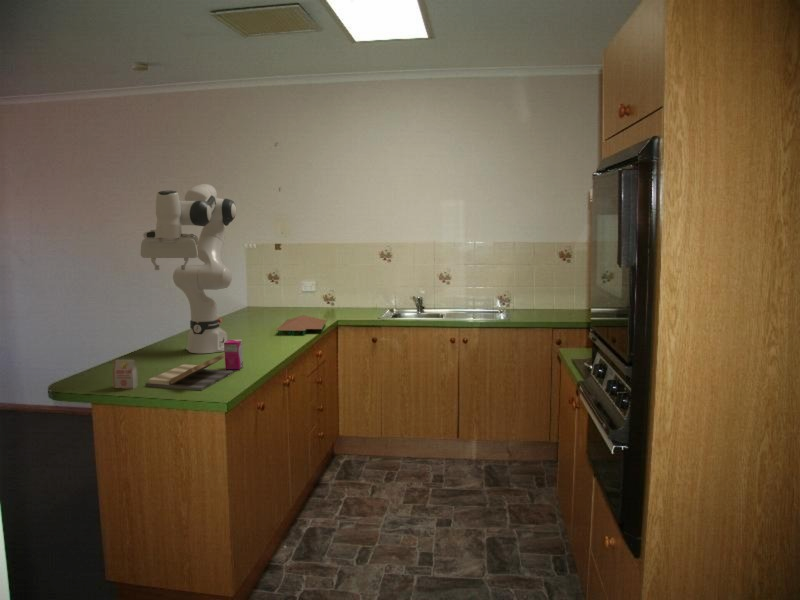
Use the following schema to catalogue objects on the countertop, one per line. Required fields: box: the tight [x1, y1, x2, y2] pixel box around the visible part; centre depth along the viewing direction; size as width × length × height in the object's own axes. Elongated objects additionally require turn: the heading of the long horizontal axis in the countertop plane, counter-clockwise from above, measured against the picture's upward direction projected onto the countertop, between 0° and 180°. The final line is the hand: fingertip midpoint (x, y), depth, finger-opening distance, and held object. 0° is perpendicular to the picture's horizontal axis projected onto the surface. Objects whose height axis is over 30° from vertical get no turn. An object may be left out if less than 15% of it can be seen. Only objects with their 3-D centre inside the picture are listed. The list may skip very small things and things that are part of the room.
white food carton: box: [112, 359, 139, 390], centre depth 199 cm, size 4×7×10 cm, turn 91°
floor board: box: [145, 363, 234, 392], centre depth 210 cm, size 23×22×3 cm
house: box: [276, 315, 327, 336], centre depth 307 cm, size 23×33×8 cm
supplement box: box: [223, 339, 244, 371], centre depth 225 cm, size 6×6×12 cm
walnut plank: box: [170, 353, 225, 384], centre depth 209 cm, size 22×10×2 cm, turn 169°
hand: (170, 269), depth 216 cm, fingers open, 8 cm apart
